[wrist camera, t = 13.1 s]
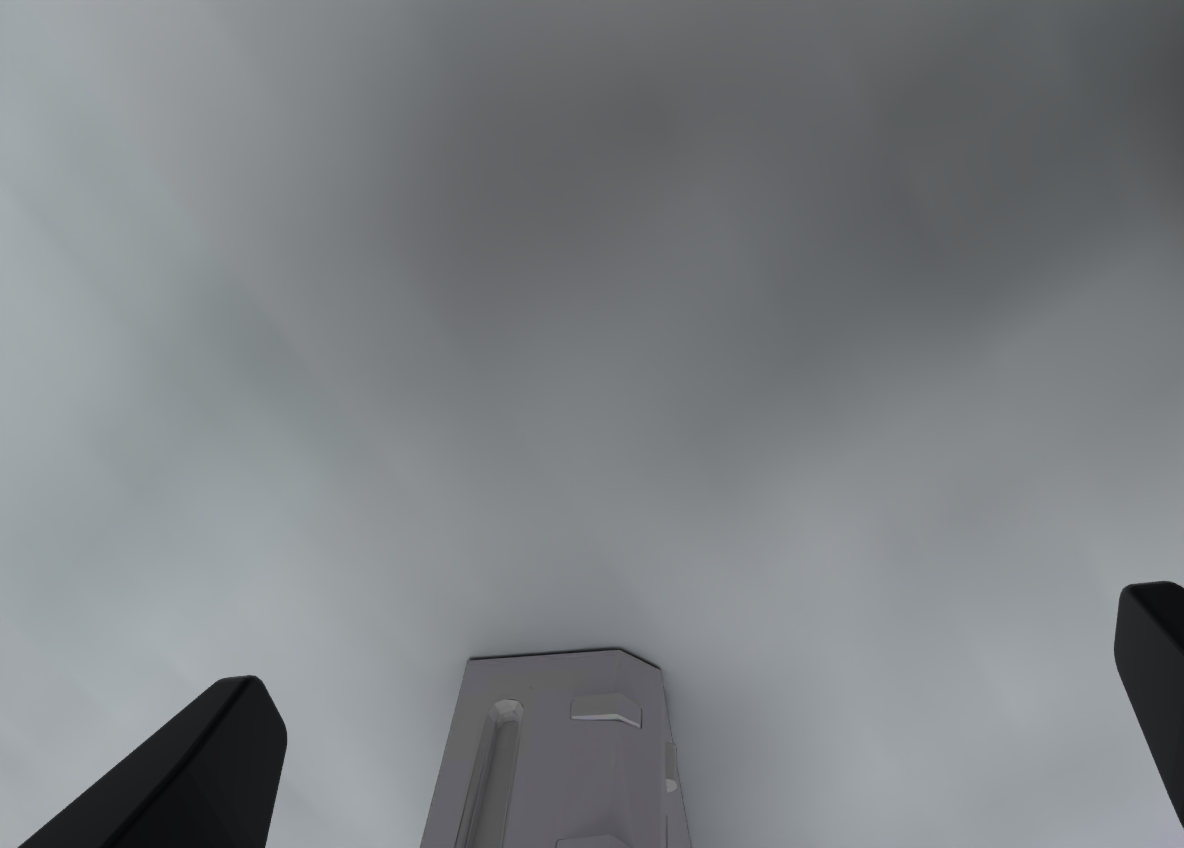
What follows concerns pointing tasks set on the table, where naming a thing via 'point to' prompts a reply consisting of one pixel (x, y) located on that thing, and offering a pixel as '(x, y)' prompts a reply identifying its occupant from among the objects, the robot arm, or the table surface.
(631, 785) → the game console
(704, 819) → the table surface
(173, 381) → the table surface
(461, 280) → the table surface
